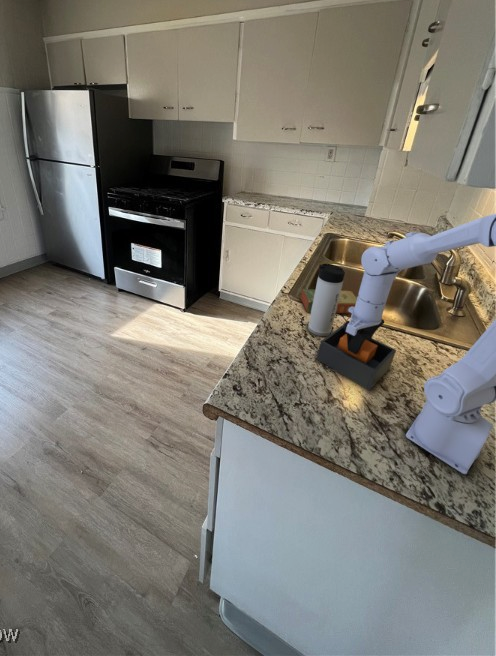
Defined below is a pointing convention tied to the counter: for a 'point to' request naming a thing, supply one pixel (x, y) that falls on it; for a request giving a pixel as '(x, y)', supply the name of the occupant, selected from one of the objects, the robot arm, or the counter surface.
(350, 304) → the carton
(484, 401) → the robot arm
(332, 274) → the travel mug
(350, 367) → the bin
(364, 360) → the block
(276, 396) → the counter surface
